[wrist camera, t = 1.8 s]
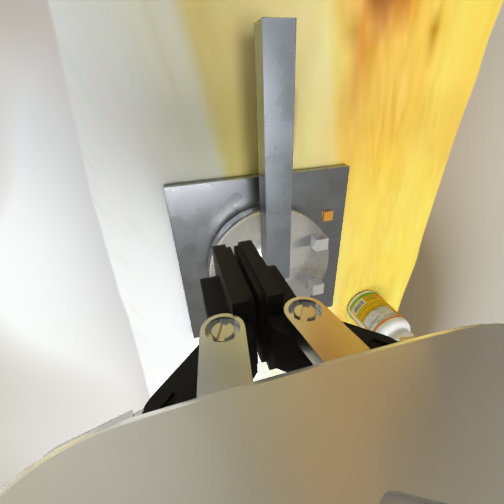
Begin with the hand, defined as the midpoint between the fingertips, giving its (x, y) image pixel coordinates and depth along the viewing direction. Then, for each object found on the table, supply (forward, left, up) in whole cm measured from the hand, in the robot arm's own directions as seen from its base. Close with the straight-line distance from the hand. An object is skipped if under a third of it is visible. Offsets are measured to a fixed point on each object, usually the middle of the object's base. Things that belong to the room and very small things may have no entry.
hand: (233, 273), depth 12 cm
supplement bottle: (+23, +23, -19) cm, 38 cm away
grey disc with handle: (+3, +7, -18) cm, 19 cm away
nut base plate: (+11, +7, -19) cm, 23 cm away
